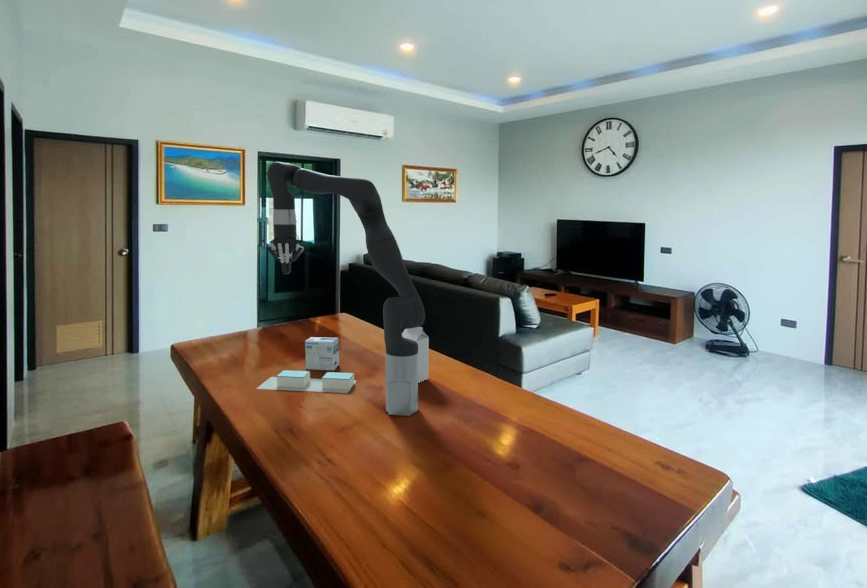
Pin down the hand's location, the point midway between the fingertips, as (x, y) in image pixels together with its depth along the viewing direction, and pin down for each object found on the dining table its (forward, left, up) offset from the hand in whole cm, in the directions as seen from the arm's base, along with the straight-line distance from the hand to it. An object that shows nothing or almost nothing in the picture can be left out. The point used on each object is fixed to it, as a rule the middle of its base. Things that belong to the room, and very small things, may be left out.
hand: (286, 273), depth 178 cm
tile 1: (-13, -2, -33) cm, 36 cm away
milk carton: (-4, -45, -35) cm, 57 cm away
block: (-13, -17, -33) cm, 39 cm away
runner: (-13, -11, -35) cm, 39 cm away
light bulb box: (+6, -10, -35) cm, 37 cm away
